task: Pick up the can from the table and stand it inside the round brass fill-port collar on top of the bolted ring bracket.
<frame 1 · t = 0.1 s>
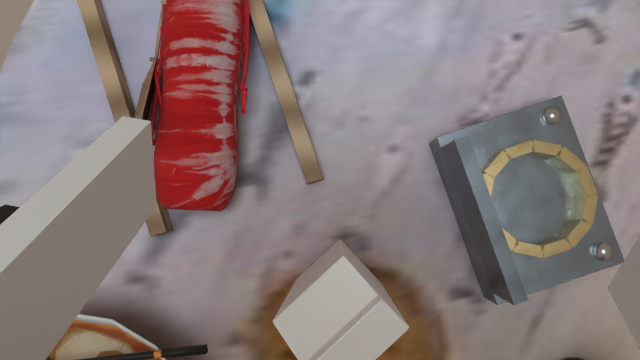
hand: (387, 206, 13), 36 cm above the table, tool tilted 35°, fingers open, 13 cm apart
bolted ring bracket: (513, 199, 48), on the table
water bottle: (200, 88, 51), resting on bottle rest
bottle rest: (201, 87, 50), on the table
milk: (338, 280, 49), on the table
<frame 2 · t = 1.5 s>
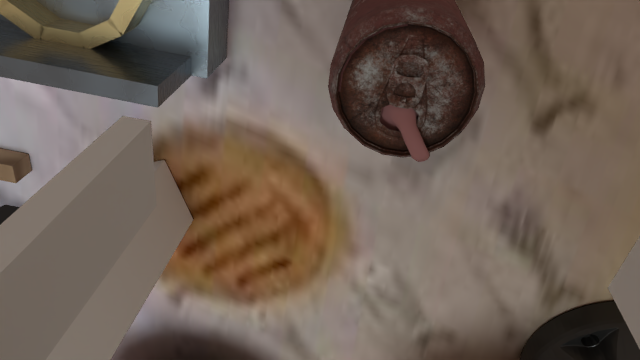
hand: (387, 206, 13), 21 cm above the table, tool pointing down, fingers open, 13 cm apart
can: (401, 13, 31), on the table
milk: (149, 194, 41), on the table
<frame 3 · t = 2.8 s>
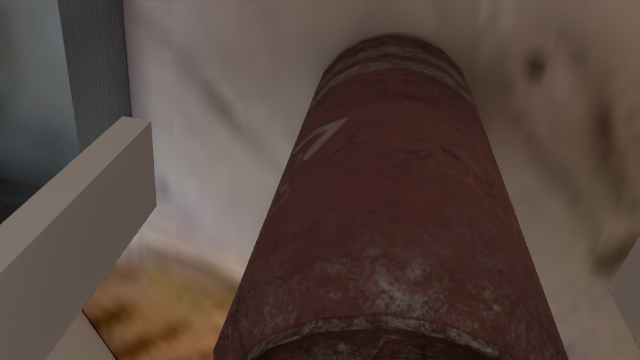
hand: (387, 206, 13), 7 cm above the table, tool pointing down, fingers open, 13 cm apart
can: (392, 110, 20), on the table
milk: (57, 331, 30), on the table
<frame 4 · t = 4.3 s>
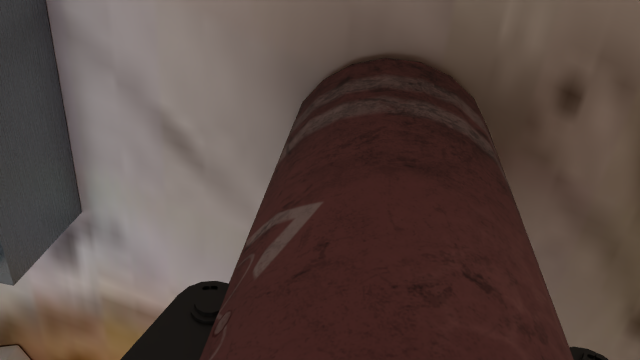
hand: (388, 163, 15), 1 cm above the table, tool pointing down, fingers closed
can: (388, 146, 16), on the table
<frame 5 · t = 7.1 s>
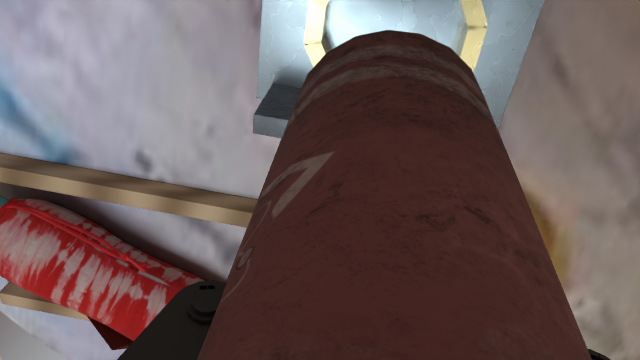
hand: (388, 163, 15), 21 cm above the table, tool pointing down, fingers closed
bolted ring bracket: (393, 12, 33), on the table
can: (389, 117, 17), point 19 cm above the table, touching hand
water bottle: (119, 256, 49), resting on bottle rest
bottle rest: (123, 250, 47), on the table
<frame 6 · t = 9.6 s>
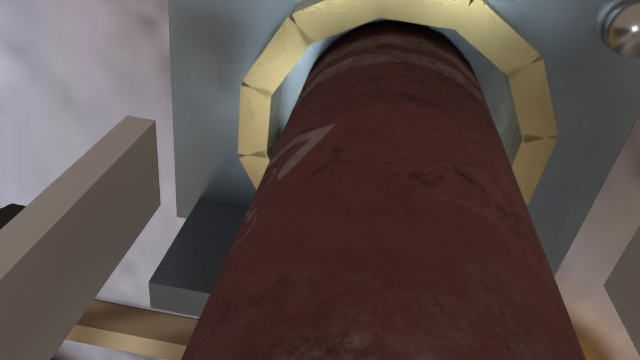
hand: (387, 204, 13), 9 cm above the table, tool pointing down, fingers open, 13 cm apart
bolted ring bracket: (389, 83, 21), on the table
can: (390, 108, 17), point 4 cm above the table, touching bolted ring bracket
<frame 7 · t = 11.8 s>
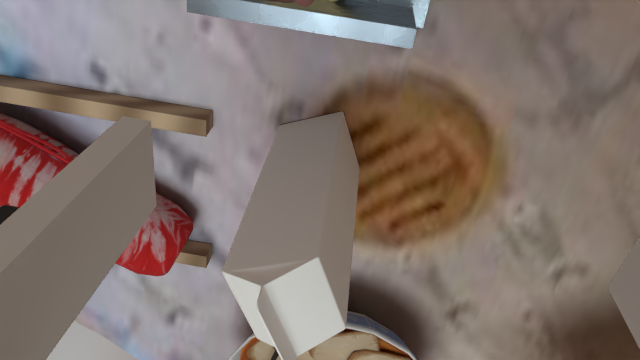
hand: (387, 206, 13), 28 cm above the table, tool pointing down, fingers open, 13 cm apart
ramen bowl: (333, 337, 59), on the table
water bottle: (79, 174, 50), resting on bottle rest
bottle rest: (85, 168, 49), on the table
milk: (320, 145, 45), on the table
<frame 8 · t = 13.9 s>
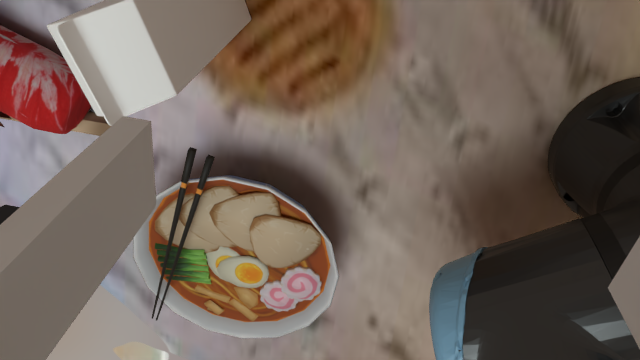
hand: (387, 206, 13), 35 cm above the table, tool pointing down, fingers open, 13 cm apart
ramen bowl: (250, 225, 59), on the table
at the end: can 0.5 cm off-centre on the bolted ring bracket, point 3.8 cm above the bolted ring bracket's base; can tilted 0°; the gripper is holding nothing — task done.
